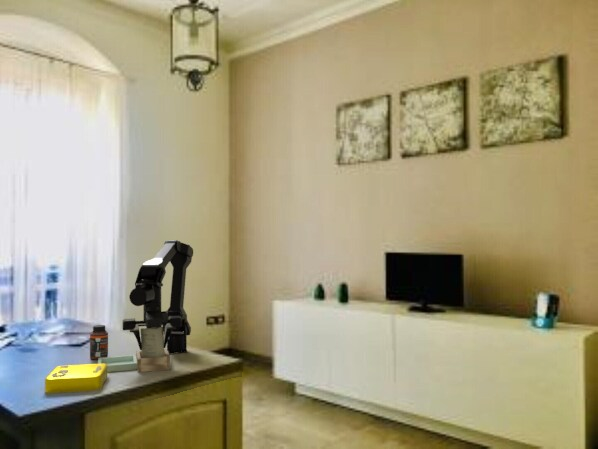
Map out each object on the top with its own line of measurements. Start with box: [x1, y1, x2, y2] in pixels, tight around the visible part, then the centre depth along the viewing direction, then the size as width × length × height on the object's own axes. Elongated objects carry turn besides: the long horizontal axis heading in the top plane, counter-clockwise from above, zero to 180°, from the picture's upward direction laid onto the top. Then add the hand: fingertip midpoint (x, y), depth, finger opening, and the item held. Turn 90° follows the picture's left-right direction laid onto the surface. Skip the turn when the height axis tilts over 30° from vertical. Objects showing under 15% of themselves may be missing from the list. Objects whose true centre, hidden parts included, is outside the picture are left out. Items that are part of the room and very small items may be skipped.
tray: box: [97, 354, 137, 373], centre depth 175 cm, size 12×12×2 cm
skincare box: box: [140, 326, 165, 358], centre depth 175 cm, size 6×4×12 cm
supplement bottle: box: [89, 324, 109, 361], centre depth 186 cm, size 6×6×11 cm
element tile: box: [44, 363, 108, 394], centre depth 155 cm, size 15×15×5 cm
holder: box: [135, 348, 171, 373], centre depth 175 cm, size 10×12×4 cm
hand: (152, 348), depth 175 cm, fingers closed on skincare box, 7 cm apart
